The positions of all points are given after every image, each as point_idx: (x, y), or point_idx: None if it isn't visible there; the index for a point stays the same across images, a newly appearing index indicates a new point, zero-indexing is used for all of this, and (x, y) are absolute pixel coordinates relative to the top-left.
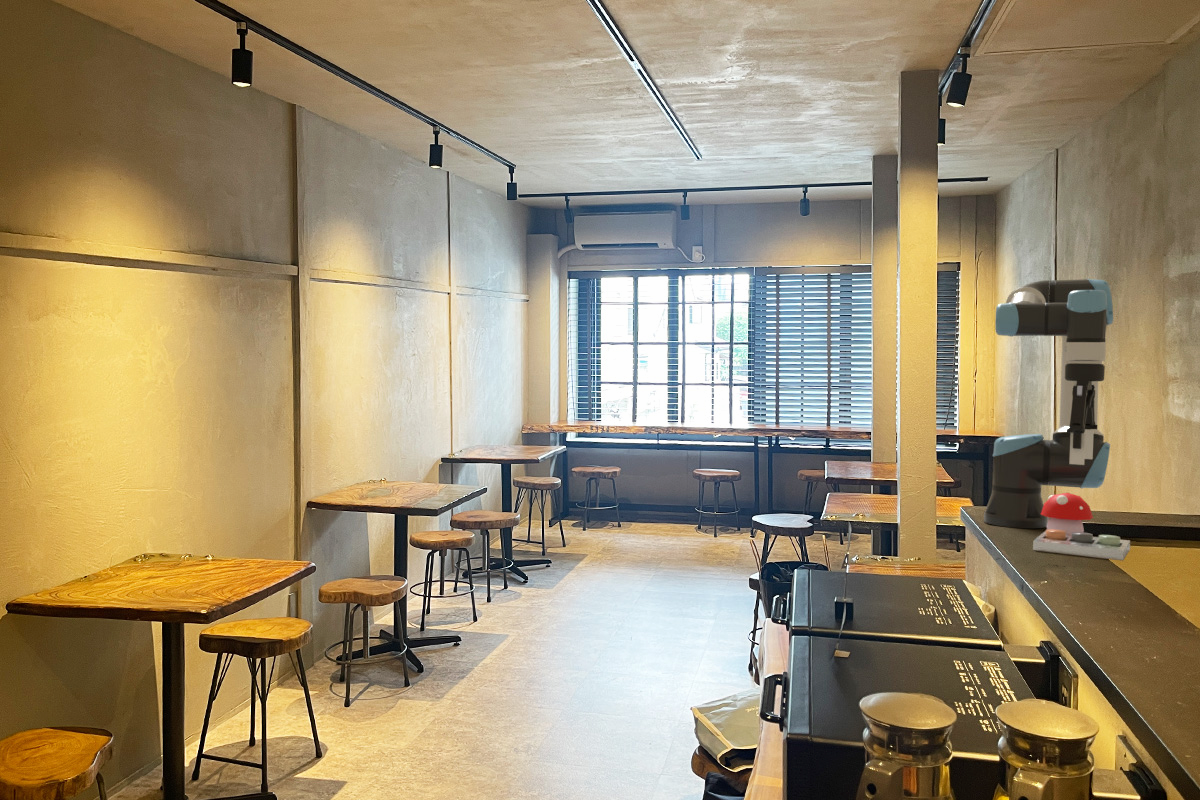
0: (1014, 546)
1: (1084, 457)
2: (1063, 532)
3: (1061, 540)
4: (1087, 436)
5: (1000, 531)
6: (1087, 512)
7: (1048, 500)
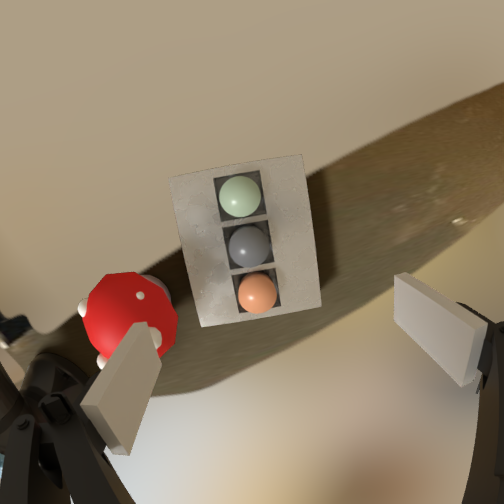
0: (242, 346)
1: (410, 283)
2: (264, 279)
3: (279, 273)
4: (123, 401)
5: None
6: (129, 282)
7: None
